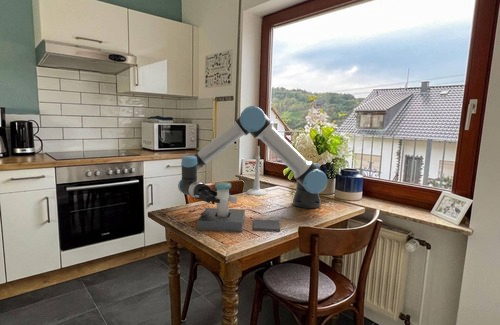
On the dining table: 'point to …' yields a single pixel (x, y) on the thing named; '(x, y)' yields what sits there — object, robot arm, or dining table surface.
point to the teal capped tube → (224, 193)
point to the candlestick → (257, 178)
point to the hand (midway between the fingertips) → (230, 201)
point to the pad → (266, 225)
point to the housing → (221, 220)
